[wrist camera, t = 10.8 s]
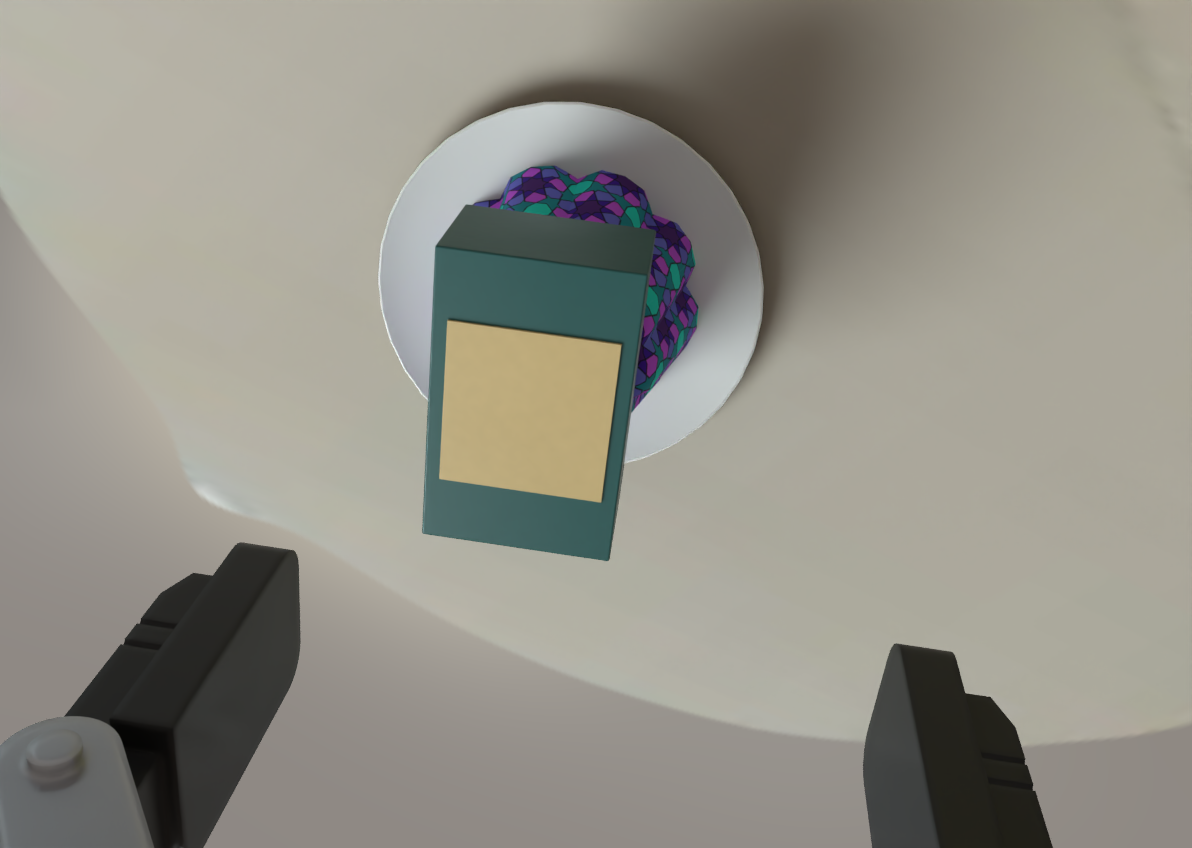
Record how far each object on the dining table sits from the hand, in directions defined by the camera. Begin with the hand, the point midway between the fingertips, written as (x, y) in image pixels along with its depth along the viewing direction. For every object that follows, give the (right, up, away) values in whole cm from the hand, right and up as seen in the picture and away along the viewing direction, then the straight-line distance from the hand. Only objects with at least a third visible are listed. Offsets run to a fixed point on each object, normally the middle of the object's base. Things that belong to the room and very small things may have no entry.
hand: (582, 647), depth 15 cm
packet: (-1, +5, +16) cm, 17 cm away
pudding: (-1, +7, +21) cm, 22 cm away
